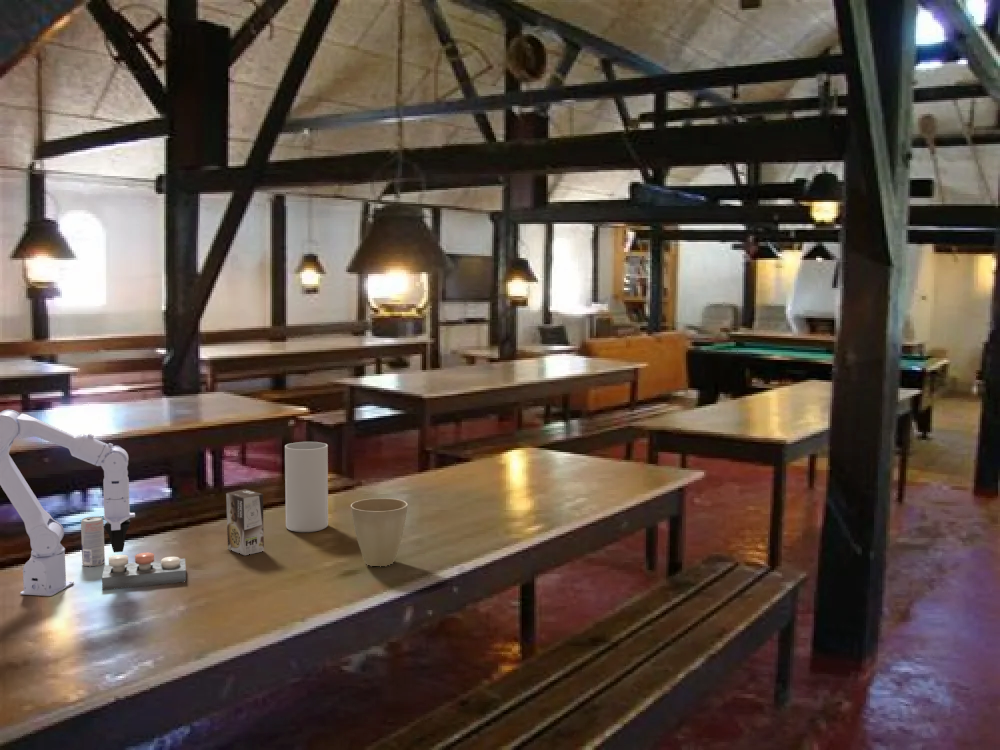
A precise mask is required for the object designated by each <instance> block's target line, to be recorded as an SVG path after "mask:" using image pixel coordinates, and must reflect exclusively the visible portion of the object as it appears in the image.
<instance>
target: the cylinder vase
mask: <svg viewBox="0 0 1000 750" xmlns="http://www.w3.org/2000/svg"><path fill="white" fill-rule="evenodd" d="M328 447H329V445H328V444H327V443H325V442H318V441H299V442H293V443H292V442H291V443H287V444H285V445H284V480H285V483H284V485H285V491H284V492H285V493H284V494H285V527H286V529H287V530H289V531H291V532H295V533H315V532H319V531H323V530H324V529H326V528H327V527H328V525H329V463H328V462H329V459H328V458H329V457H328V456H329V455H328V454H329V452H328V451H329V450H328V449H329V448H328Z"/></svg>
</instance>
